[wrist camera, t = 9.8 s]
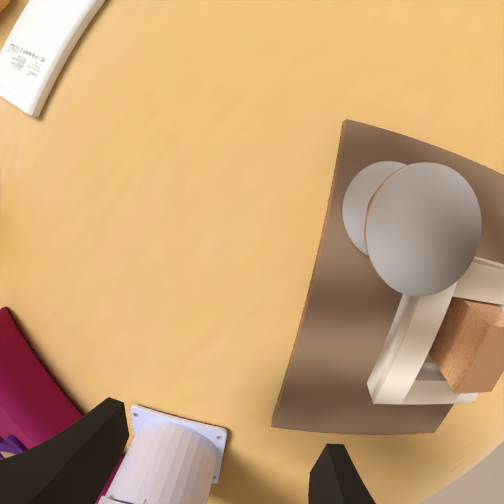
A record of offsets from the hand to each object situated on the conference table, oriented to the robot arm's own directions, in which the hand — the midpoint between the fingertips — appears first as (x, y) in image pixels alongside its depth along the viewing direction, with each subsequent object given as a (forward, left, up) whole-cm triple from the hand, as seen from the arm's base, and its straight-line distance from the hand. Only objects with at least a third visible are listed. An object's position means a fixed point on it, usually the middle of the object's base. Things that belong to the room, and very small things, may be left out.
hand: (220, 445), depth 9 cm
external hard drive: (+18, +18, -10) cm, 27 cm away
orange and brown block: (+3, -13, -8) cm, 15 cm away
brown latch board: (+2, -10, -9) cm, 14 cm away
